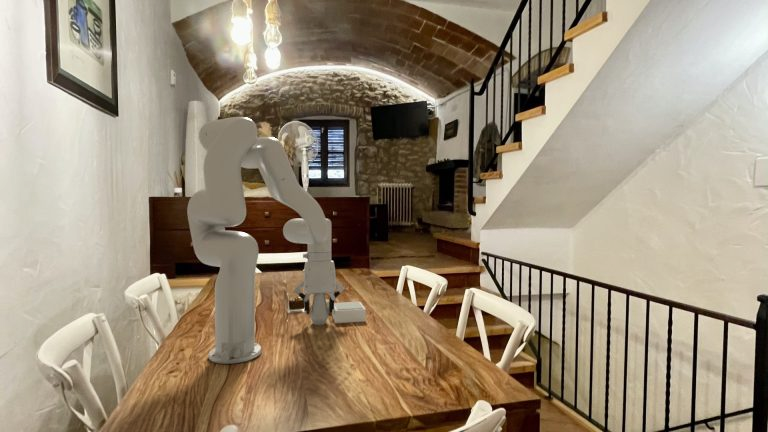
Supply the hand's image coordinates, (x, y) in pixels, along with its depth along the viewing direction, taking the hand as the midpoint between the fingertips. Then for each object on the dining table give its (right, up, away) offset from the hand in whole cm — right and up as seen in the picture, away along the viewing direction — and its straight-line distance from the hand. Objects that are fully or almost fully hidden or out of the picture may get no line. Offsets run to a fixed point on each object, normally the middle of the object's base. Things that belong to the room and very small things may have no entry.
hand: (319, 311), depth 131 cm
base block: (+9, -3, +6) cm, 11 cm away
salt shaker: (0, -4, 0) cm, 4 cm away
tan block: (0, -3, +13) cm, 14 cm away
